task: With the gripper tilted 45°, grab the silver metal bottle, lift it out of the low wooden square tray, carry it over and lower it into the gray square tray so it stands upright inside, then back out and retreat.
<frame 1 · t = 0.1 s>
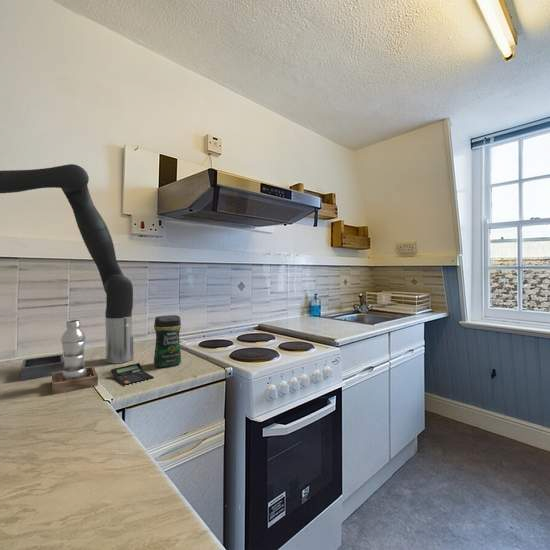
coffee jar: (167, 364, 119), on the worktop
silver metal bottle: (74, 384, 100), resting in wooden square tray
gray square tray: (43, 372, 110), on the worktop
calculator: (132, 379, 106), on the worktop
wooden square tray: (74, 383, 100), on the worktop
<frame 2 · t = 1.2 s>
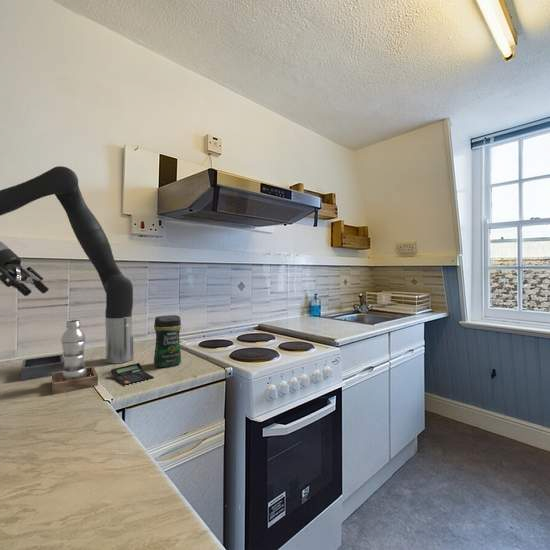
hand: (38, 292, 101), 29 cm above the worktop, tool tilted 45°, fingers open, 8 cm apart
nothing on the worktop moved.
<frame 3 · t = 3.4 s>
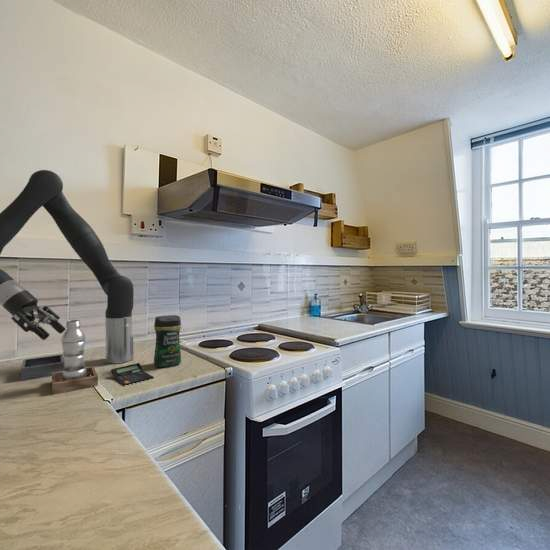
hand: (55, 334, 99), 16 cm above the worktop, tool tilted 45°, fingers open, 8 cm apart
nothing on the worktop moved.
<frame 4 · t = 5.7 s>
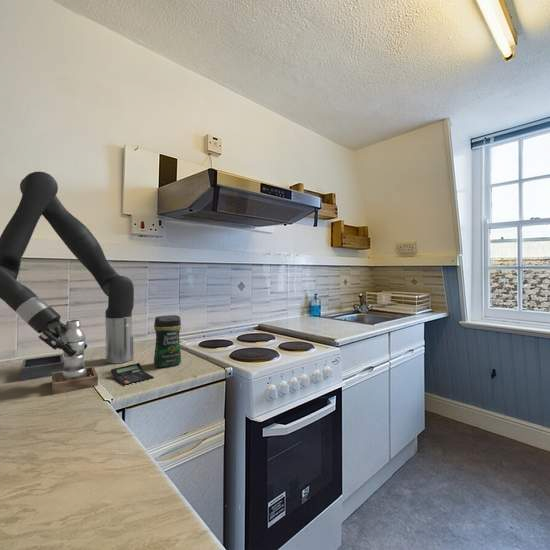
hand: (79, 351, 100), 10 cm above the worktop, tool tilted 45°, fingers closed on silver metal bottle, 6 cm apart
silver metal bottle: (74, 384, 100), resting in wooden square tray, touching gripper
everything else where it was.
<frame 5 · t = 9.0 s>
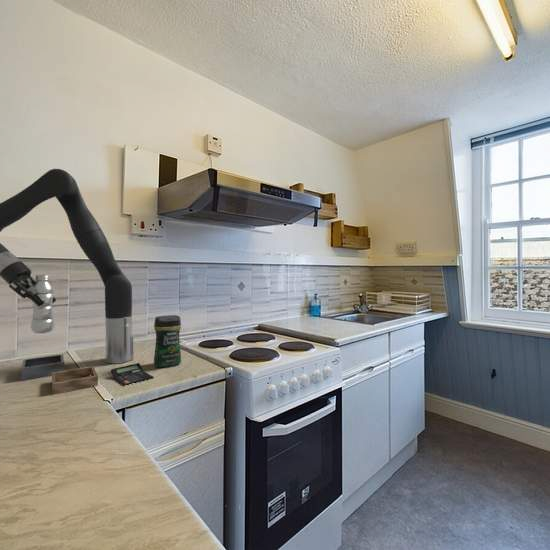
hand: (48, 303, 109), 24 cm above the worktop, tool tilted 45°, fingers closed on silver metal bottle, 6 cm apart
silver metal bottle: (42, 333, 109), point 14 cm above the worktop, touching gripper
everything else where it was.
when the fingers open (12 cm above the worktop, at t = 12.7 s): silver metal bottle drops 1 cm, resting in gray square tray.
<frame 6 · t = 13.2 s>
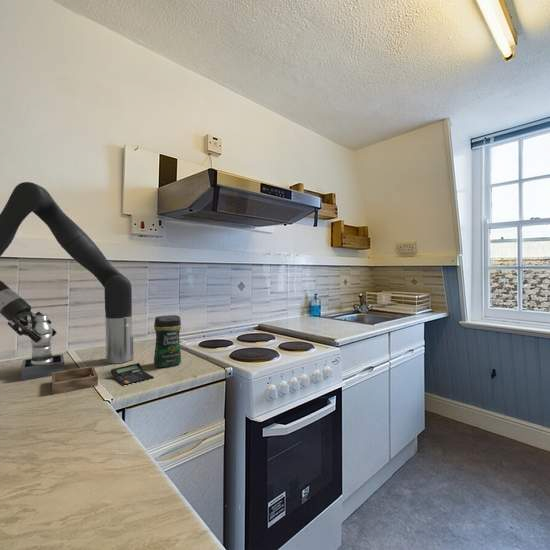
hand: (47, 337, 110), 12 cm above the worktop, tool tilted 45°, fingers open, 8 cm apart
silver metal bottle: (42, 373, 110), resting in gray square tray
everything else where it was.
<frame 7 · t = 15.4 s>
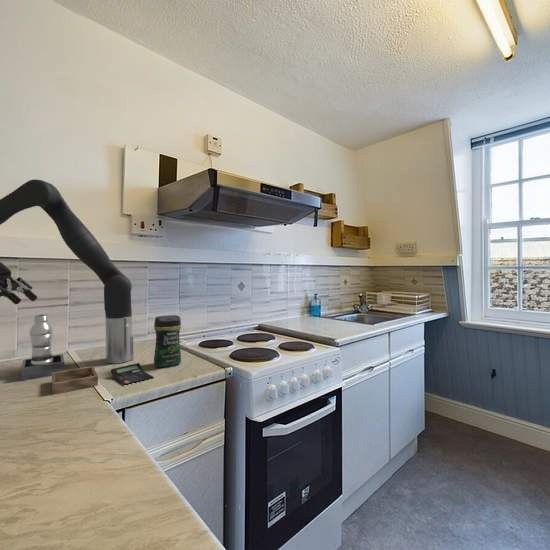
hand: (27, 300, 111), 25 cm above the worktop, tool tilted 45°, fingers open, 8 cm apart
nothing on the worktop moved.
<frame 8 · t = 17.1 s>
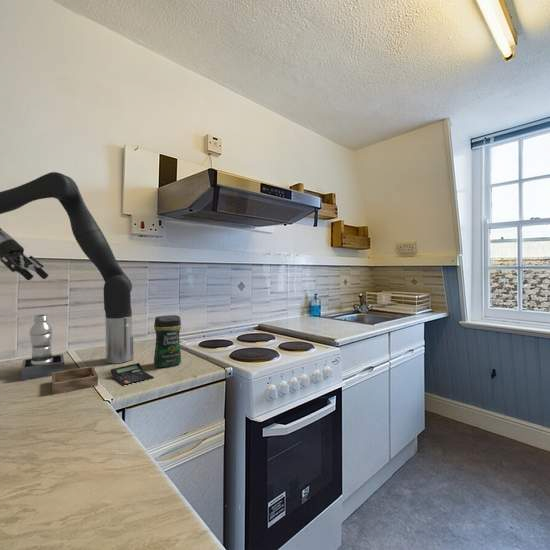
hand: (39, 277, 114), 33 cm above the worktop, tool tilted 45°, fingers open, 8 cm apart
nothing on the worktop moved.
at the end: silver metal bottle 0.4 cm off-centre on the gray square tray, point 0.0 cm above the gray square tray's base; silver metal bottle tilted 0°; the gripper is holding nothing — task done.
